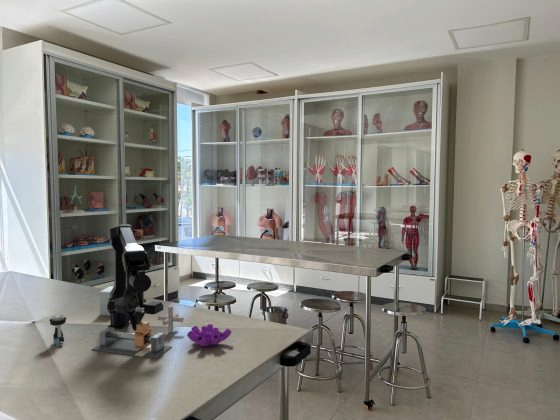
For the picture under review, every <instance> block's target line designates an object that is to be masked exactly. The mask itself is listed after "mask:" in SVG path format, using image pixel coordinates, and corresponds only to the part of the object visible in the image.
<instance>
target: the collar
mask: <svg viewBox="0 0 560 420" xmlns="http://www.w3.org/2000/svg"><path fill="white" fill-rule="evenodd" d="M134 333H135V341H134V342H135V348H139V349H143V348H145V347H147V346H148V345H150V344H151V343H146V342H144V335H152V328H150V321H145V320H143V321H141V323H139V324H137V331H135V332H134Z"/></svg>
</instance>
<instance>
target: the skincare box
mask: <svg viewBox="0 0 560 420" xmlns="http://www.w3.org/2000/svg"><path fill="white" fill-rule="evenodd" d="M113 287H114V285H113V286H112V285H110V286H108V287H106V288H104V289H102V290H100V291H99V316H110V314H109V312H108V311H107V303H108V299H109V298H110V292H111V290H112V289H113Z"/></svg>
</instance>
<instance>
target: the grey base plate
mask: <svg viewBox="0 0 560 420" xmlns="http://www.w3.org/2000/svg"><path fill="white" fill-rule="evenodd" d="M114 341H115V342H114V343H112V344H110V345H109V346H107V347H100V344H98V345H96V346H95V347H94V346H93V348H91V351H96V352H103V353H111V354H118V355H127V356H133V357H141V358H148V359H155V360H156V359H158V358H159V357H161V356H162V355H164V354H165V353H167V352H168V351H169V350H171V349H172V348H173V346H171V345H165V344H164V349H163V350H162V351H160V352H159V353H157V354H152V353H151V344H150V345H148V346H147V347H145V348H143V349H139V348H135V341H131V340H123V339H115V338H114Z"/></svg>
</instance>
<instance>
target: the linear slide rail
mask: <svg viewBox="0 0 560 420" xmlns="http://www.w3.org/2000/svg"><path fill="white" fill-rule="evenodd" d="M114 339H116V340H124V341H132V342H135V332H134V333H133V332H124V331H118V330H117V331H116V330H115V328H114V327H108V326H107V328H105V329H101V330H100V332H99V342H100V343H99V345H100V347H107V346H109V345H110V344H112V343H114V342H115V341H114ZM144 342H146V343H151V353H152V354H157V353H159V352H160V351H162V350H163V349H164V345H165V332H158V333H156V334H155V335H152V334H151V335H144Z"/></svg>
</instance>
